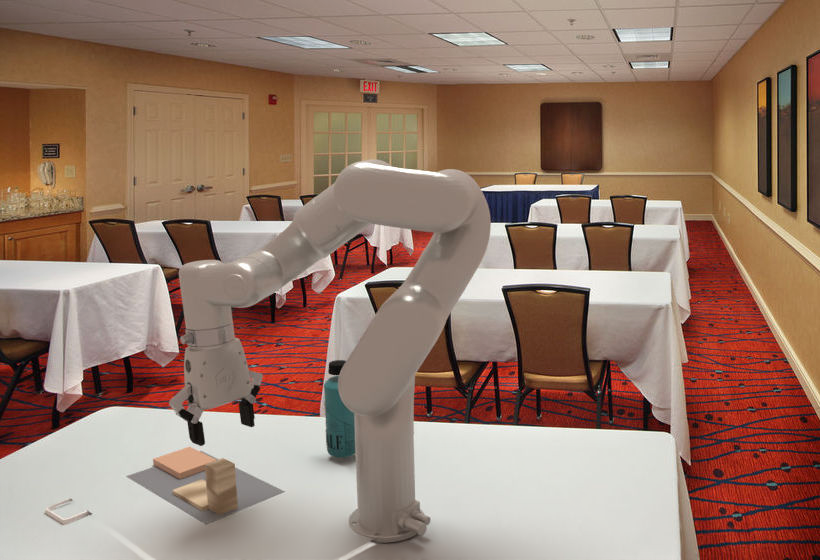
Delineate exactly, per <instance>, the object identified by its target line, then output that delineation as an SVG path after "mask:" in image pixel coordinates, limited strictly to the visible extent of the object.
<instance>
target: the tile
mask: <svg viewBox="0 0 820 560" xmlns="http://www.w3.org/2000/svg"><path fill="white" fill-rule="evenodd" d="M200 451H201V450H197V449H195V448H194V447H192V446H187V447H184V448H182V449H179V450H175V451H173V452H170V453H166V454H163V455H160V456H158V457H154V458H153V459H152V463H153V466H154V467H155V466H157V467H159V468H160V469H162V470H164V471H166V472H168V473H170V474H171V475H173V476H175V477H177V478H179V479H182V478H185V477H188V476H191V475H193V474H196V473H199V472H202V471H204V470H205V464H208V463H211V462H213V461H216V459H214V458H212V457H210V456H208V455H206V454H204V453H202V452H200Z"/></svg>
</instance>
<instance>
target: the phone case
mask: <svg viewBox="0 0 820 560" xmlns="http://www.w3.org/2000/svg"><path fill="white" fill-rule="evenodd" d="M71 501H73V499H72V498H68V499H64V500H62V501H60V502H57V503H54V504H52V505H49V506H47V507H45V509H44V510H45V511H44V512H45V514H46V515H48V516H49V517H51V518H52V519H53V520H55V521H57V522H58V523H60V524H62V525H68V524H69V525H70V524H72V523H74V522H77V521H79V520H81V519H83V518H87V517H89V516H92V515H93V513H92V512H91V511H89V510H85V511H82V512H80V513H77V514H75V515H72V516H69V517H66V518H63V517H62V516H60V515H59V514H57V513H55V512H54V511H55V510H56V507H58V506H61V505H64V504H66V503H69V502H71ZM91 514H92V515H91ZM88 515H89V516H88Z"/></svg>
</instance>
